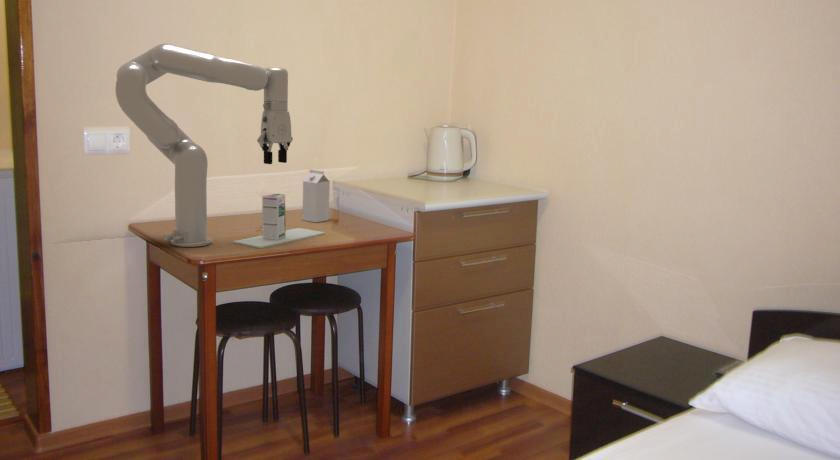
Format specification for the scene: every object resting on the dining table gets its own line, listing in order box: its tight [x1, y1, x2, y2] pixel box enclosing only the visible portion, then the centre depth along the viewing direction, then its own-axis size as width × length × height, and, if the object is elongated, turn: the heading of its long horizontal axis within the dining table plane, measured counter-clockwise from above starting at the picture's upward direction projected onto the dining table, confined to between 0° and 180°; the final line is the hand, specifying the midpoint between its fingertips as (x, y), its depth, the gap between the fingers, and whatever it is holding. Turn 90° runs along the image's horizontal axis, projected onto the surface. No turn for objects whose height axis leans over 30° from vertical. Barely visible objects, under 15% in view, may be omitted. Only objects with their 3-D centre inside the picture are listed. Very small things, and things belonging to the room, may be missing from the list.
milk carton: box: [302, 169, 331, 223], centre depth 292 cm, size 7×7×19 cm
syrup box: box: [261, 193, 286, 240], centre depth 254 cm, size 6×6×14 cm
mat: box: [232, 227, 326, 249], centre depth 258 cm, size 32×12×1 cm, turn 148°
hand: (275, 162), depth 251 cm, fingers open, 6 cm apart
